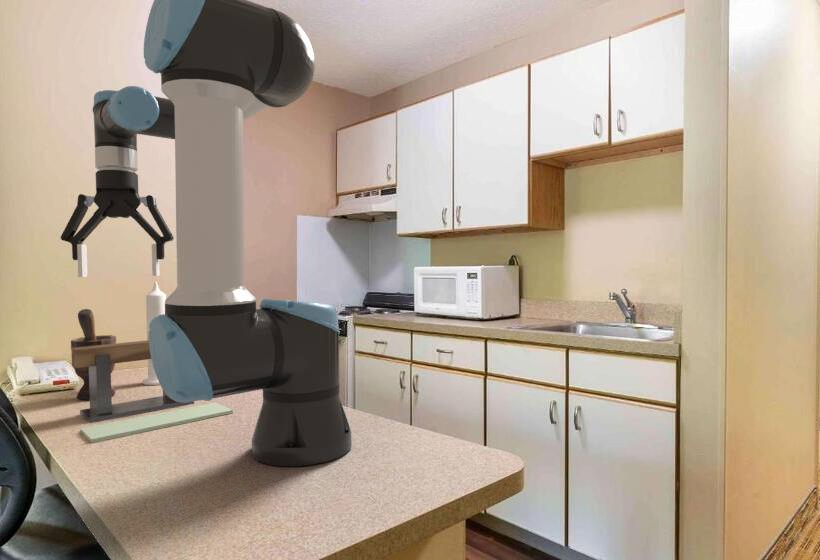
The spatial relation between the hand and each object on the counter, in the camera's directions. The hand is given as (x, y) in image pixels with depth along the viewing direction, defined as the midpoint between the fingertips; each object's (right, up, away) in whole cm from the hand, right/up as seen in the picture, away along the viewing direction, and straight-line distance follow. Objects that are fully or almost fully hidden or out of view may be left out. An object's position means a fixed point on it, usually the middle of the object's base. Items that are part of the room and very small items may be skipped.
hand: (120, 276), depth 107 cm
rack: (+4, -27, -1) cm, 27 cm away
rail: (+4, -17, -1) cm, 17 cm away
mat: (+13, -27, -10) cm, 32 cm away
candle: (-3, -26, +24) cm, 35 cm away
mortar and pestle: (-10, -27, +8) cm, 30 cm away
